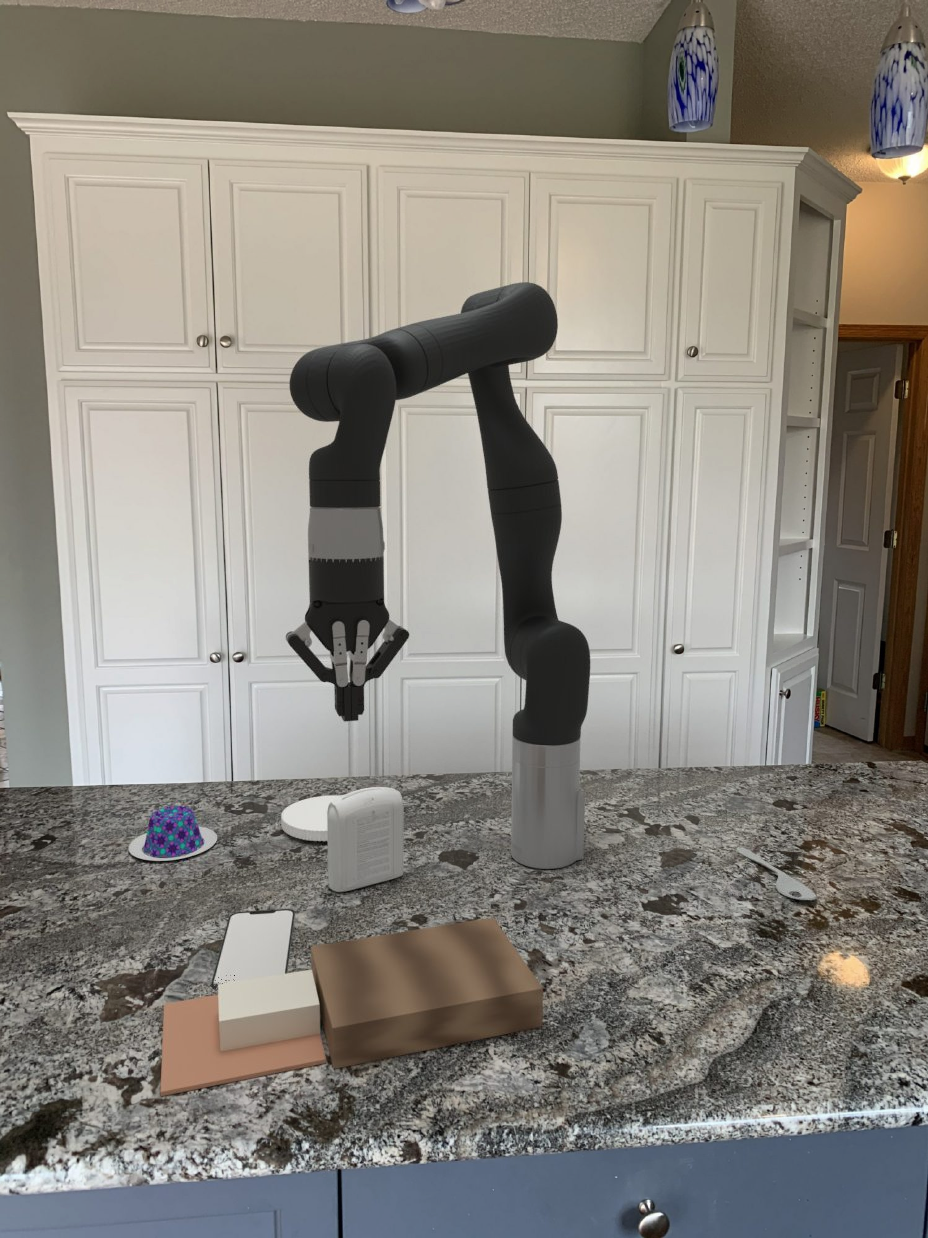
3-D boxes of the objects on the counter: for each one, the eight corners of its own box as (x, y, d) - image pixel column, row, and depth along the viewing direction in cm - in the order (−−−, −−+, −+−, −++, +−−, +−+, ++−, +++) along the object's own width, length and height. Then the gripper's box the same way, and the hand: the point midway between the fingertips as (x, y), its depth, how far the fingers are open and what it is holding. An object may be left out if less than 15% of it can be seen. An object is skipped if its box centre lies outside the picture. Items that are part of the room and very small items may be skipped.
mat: (306, 983, 90) (306, 979, 90) (326, 1063, 77) (326, 1059, 77) (164, 1007, 85) (164, 1004, 85) (160, 1096, 73) (160, 1092, 73)
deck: (493, 951, 96) (493, 917, 95) (542, 1026, 83) (543, 988, 82) (311, 982, 90) (310, 946, 89) (333, 1069, 77) (332, 1028, 76)
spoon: (795, 912, 105) (796, 899, 105) (716, 842, 125) (716, 832, 125) (826, 909, 106) (827, 896, 106) (742, 840, 126) (743, 830, 126)
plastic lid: (363, 805, 139) (362, 790, 138) (386, 839, 126) (386, 823, 126) (274, 817, 134) (274, 802, 134) (290, 854, 121) (289, 837, 121)
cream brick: (312, 997, 86) (311, 969, 86) (320, 1033, 81) (319, 1004, 80) (219, 1012, 84) (217, 984, 83) (220, 1051, 78) (219, 1021, 78)
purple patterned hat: (109, 857, 120) (107, 821, 119) (168, 825, 131) (166, 792, 130) (180, 872, 115) (178, 834, 115) (234, 837, 126) (233, 803, 126)
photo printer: (393, 865, 117) (392, 777, 115) (409, 877, 114) (408, 787, 112) (323, 884, 111) (320, 792, 109) (337, 897, 108) (335, 803, 106)
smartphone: (286, 990, 89) (296, 912, 105) (286, 985, 89) (296, 908, 105) (208, 995, 88) (229, 916, 104) (208, 990, 88) (229, 912, 104)
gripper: (401, 548, 92) (403, 705, 95) (275, 551, 88) (281, 715, 91) (419, 554, 85) (420, 723, 88) (283, 557, 81) (289, 735, 84)
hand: (349, 719), depth 90 cm, fingers closed
